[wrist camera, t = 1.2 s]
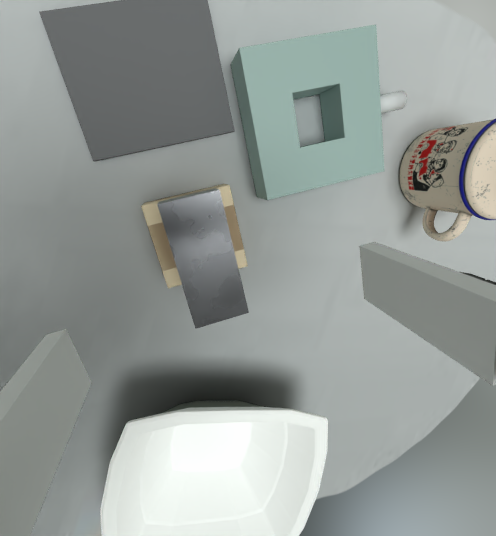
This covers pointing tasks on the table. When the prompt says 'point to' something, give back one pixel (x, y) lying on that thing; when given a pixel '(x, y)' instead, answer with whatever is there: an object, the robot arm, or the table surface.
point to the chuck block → (332, 107)
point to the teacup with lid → (452, 175)
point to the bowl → (215, 472)
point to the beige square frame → (163, 244)
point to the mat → (140, 73)
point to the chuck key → (204, 256)
